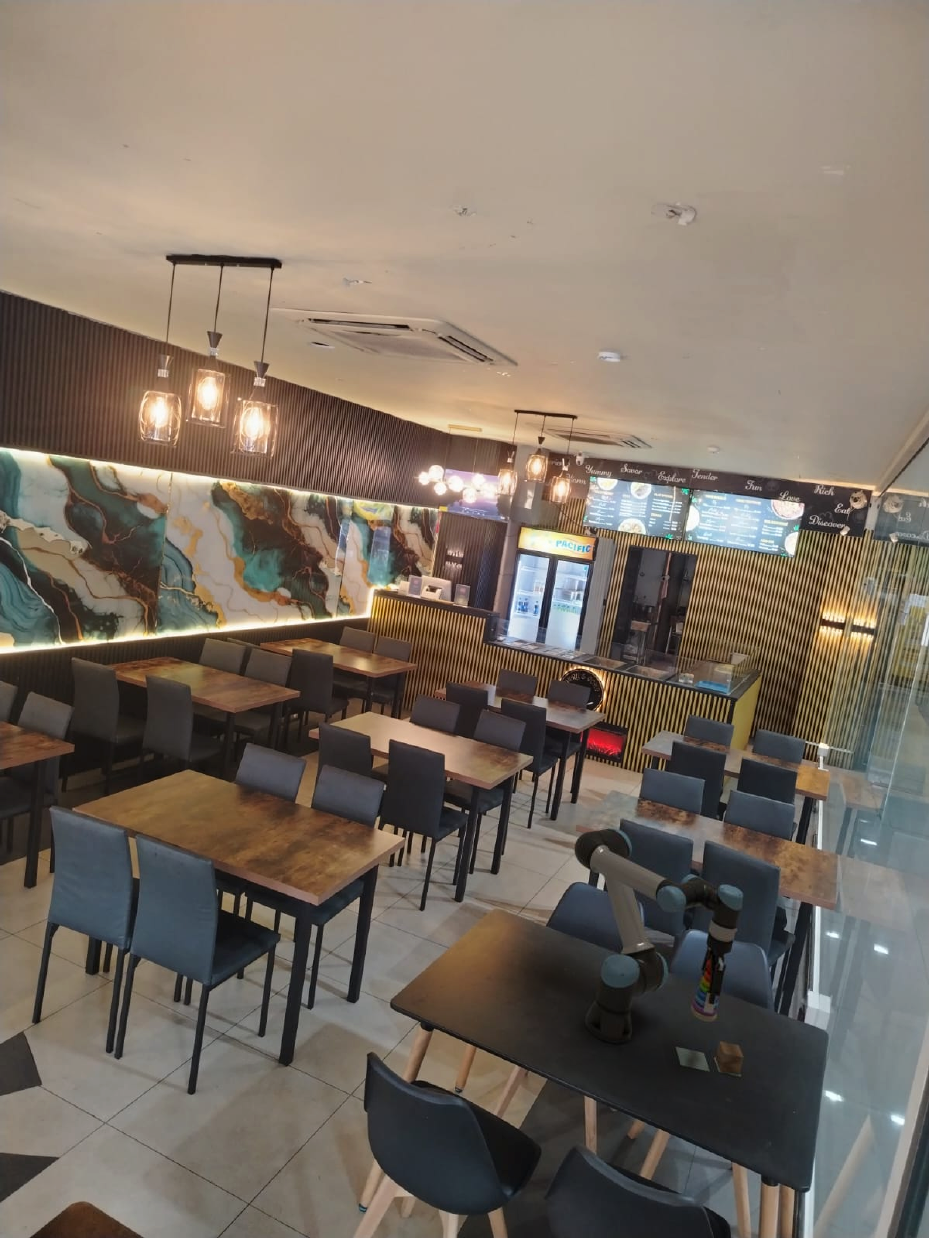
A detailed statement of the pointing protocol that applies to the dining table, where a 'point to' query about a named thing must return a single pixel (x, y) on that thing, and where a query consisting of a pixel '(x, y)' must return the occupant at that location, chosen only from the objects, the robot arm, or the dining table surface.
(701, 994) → the stacking toy
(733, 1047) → the walnut cube
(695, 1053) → the paired pale square pads
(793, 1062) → the dining table surface
